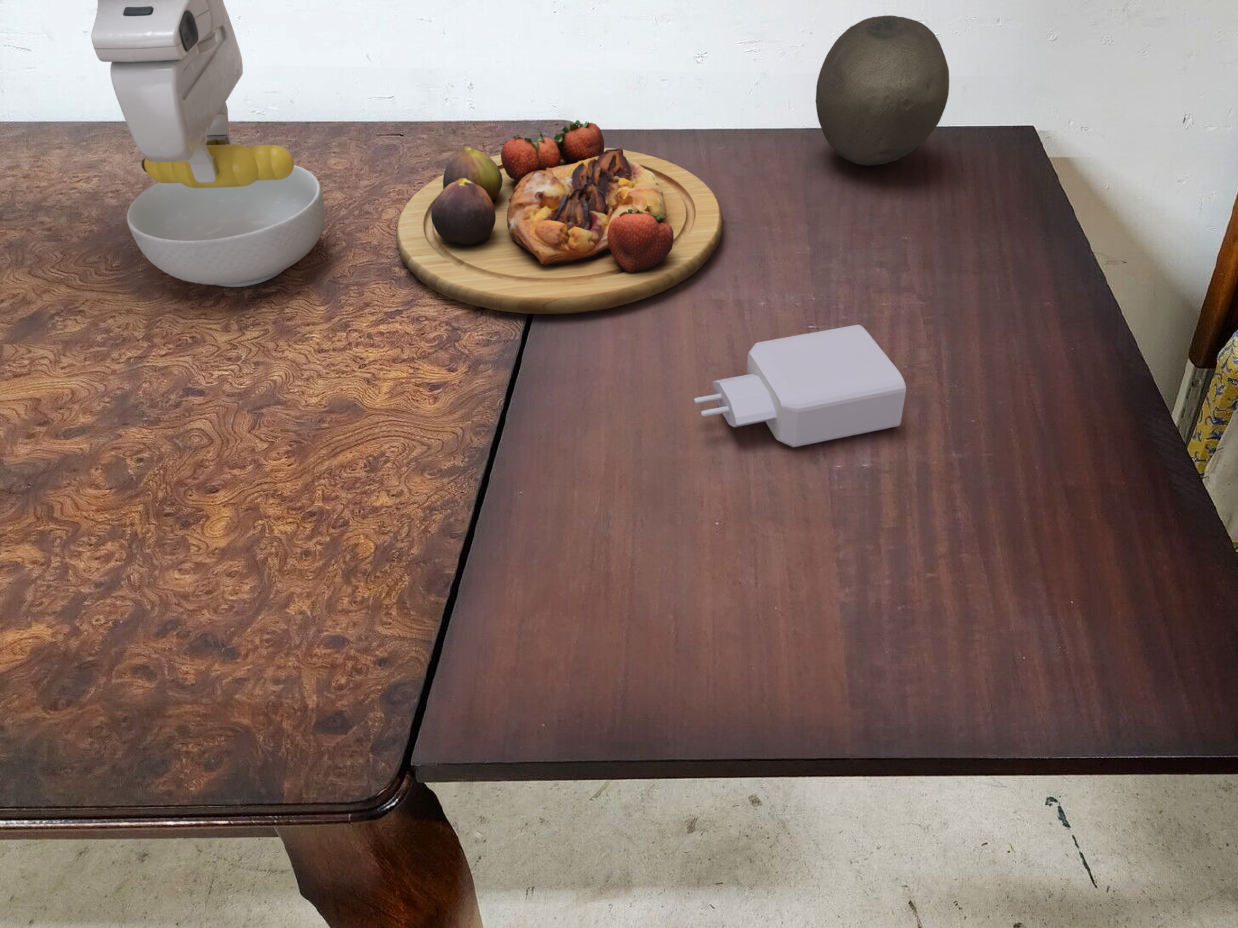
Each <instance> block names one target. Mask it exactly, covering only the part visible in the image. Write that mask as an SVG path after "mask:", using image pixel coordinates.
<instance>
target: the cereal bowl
mask: <svg viewBox="0 0 1238 928" xmlns="http://www.w3.org/2000/svg"><path fill="white" fill-rule="evenodd" d="M325 215H326V209H325V201H324V195H323V190H322V187H321V183H320V182H319V180H318V178H317V177H316V176H315V174H313V173H312V172H311V171H309V170H307V169H306V168H304V167H301V166H298V165H296V164H294V168H293V171H292V173H291V174H290V175H289V176H288V177H287V178H285V179H282V180H263V181H255V182H254V183H252V184H251V185H248V186H244V187H219V188H191V187H187V186H185V185H183V184H182V183H160V182H156V183H154V184H152V185H150V186H149V187H148V188H146V189H145V190H143V191H142V192H141V193H140V194H139V195H138V196H136V197H135V198H134V199H133V200H132V202H131V203H130V205H129V207H128V209H127V213H126V222H127V225H128V229H129V231H130V232H131V235H132V237H133V239H134V241H135V242H136V245H137V247H138V248H139V250H140V252H142V255H144V256H145V257H146V259H147V260H148V261H149V262H150V263H151V264H152V265H154V266H155V267H156V268H158V269H159V270H161V271H162V272H163V273H165V274H168V275H169V276H171V277H174V278H175V279H179V280H181V281H185V282H188V283H194V284H201V285H210V286H219V287H225V288H226V287H227V288H240V287H241V288H242V287H249V286H253V285H257V284H261V283H264V282H267V281H269V280H272V279H273V278H275V277H277V276H278V275H280V274H281V273H283V271H285V270H286V269H288V268H290V267H292V266H294V265H295V264H296V263H298V262H300V261H301V260H302V259H303V258H304V257H306V255H308V254H309V253H310V252H311V251H312V249H313V248H315V246H316V244H317V243H318V241H319V240H320V238H321V235H322V233H323V229H324V226H325V221H326V216H325Z"/></svg>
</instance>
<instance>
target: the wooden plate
mask: <svg viewBox="0 0 1238 928" xmlns="http://www.w3.org/2000/svg"><path fill="white" fill-rule="evenodd" d="M539 133H540V134H539V135H538V136H537V138H535V139H534V140H533V141H534V142H533V141H532V138H531V137H528V136H524V138H523V137H521V136H520V134H519V133H517V134H515V135H514V136H513V137H512V139H509V140H506V141H505V142H504V143H500V144H499V146H502V148H501V153H500V154H496V155H491V156H490V155H488V154H487V153H485V152H482V151H481V150H477V149H474V148H473V147H471V146H469V145H467V146H466V147H464V149H462V150H461V151H459V152H458V153H456V155H455V156H453V158H452V159H451V160H450V162H448V164H447V165H446V166H445V170H444V173H443V174H441V175H440V176H438V177H436V178H435V179H433V180H432V181H430V182H429V183H427V184H425V185H424V186H423V187H421V188H420V189H419V190H418V191H417V192H416V193H415V194H414V195H413V196H412V197H411V198H410V199H409V200H408V202H407V203H406V205H404V207H403V209H402V211H401V213H400V214H399V217H398V220H397V222H396V227H395V228H396V229H395V240H396V246H397V249H398V254H399V256H400V258H401V260H402V262H403V263H404V265H405V266H406V268H407V269H408V270H409V271H410V272H411V273H412V274H413V275H414V276H415V277H416V278H417V280H419V281H420V282H422V283H424V284H425V285H426V286H427V287H429V288H430V289H432V290H434V291H435V292H438V293H439V294H441V295H443V296H445V297H448V298H449V299H452V300H456V301H458V302H461V303H465V304H468V305H472V306H476V307H480V308H483V309H484V308H485V309H489V310H495V311H499V312H506V313H507V312H509V313H518V314H529V315H532V314H533V315H562V314H576V313H578V314H579V313H585V312H593V311H601V310H606V309H612V308H616V307H620V306H623V305H628V304H631V303H635V302H638V301H641V300H644V299H647V298H651V297H653V296H654V295H657V294H660V293H662V292H664V291H666V290H669V289H671V288H673V287H674V286H676V285H678V284H679V283H682V282H683V281H685V280H687V279H688V278H689V277H691V276H692V275H693V274H695V273H696V272H697V271H698V270H699V269H700V268H702V267H703V265H704V264H705V263H706V262H707V261H708V260H709V259H710V258H711V257H712V256H713V254H714V252H715V250H717V247H718V246H719V244H720V241H721V239H722V235H723V228H724V218H723V210H722V207H721V204H720V202H719V200H718V198H717V196H716V195H715V194H714V192H713V191H712V190H711V188H710V187H709V186H708V185H707V184H705V182H704V181H703V180H702V179H700V178H698V177H697V176H696V175H694V174H692V172H689V171H688V170H687V169H685V168H683V167H681V166H679V165H677V164H675V163H672V162H671V161H668V160H665V159H662V158H659V157H655V156H652V155H648V154H645V153H641V152H637V151H631V150H626V149H623V148H614V147H605V139H604V135H603V132H602V130H601V128H600V127H599V126H598V125H597V124H596V123H594V122H589V121H587V120H586V121H585V122H584V123H581V121H580V120H579V119H577V120H575V122H574V123H569V127H568V126H567V125H565V126H563V127H562V129H561V133H556V134H555V136H554V137H553V139H552V138H551V137H544V136H543V133H542V132H541V131H539Z"/></svg>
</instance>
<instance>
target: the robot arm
mask: <svg viewBox="0 0 1238 928" xmlns="http://www.w3.org/2000/svg"><path fill="white" fill-rule="evenodd" d="M90 37H91V43H92V46H93V50H94V52H95V54H96V56H97V59H98V60H99V62H101V63H102V62H104V63H107V62H108V63H110V69H109V70H110V71H109V72H110V80H111V84H112V87H113V91H114V93H115V96H116V99H117V102H118V104H119V107H120V109H121V112H122V115H123V118H124V120H125V123H126V125H127V128H128V130H129V133H130V134H131V137H132V139H133V142H134V144H135V146H136V147H137V149H138V151H139V152H140V153H141V154H142V156H143V157H144V158H146V159H148V160H149V161H151V162H177V161H187V162H188V163H189V164H190V166H191V169H192V172H193V175H194V178H195V180H196V181H197V182H200V183H211V182H214V181H215V180H216V177H217V176H218V174H219V168H218V166H217V161H216V158H215V156H211V155H210V153H209V151H208V149H207V147H206V145H230V144H233V143H232V140H231V136H230V133H229V132H230V129H229V128H230V126H229V110H228V109H229V108H228V105H227V100H228V99H229V97H230V96H231V94H232V92H233V90H234V89H235V88H236V85H237V84H238V82H239V81H240V79H241V78H242V76H243V75H244V64H243V58H242V54H241V50H240V47H239V44H238V40H237V37H236V34H235V31H234V28H233V25H232V22H231V19H230V15H229V12H228V11H227V8H226V5H225V3H224V0H97V9H96V16H95V19H94V24H93V26H92V30H91V35H90Z"/></svg>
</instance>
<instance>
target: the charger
mask: <svg viewBox="0 0 1238 928" xmlns="http://www.w3.org/2000/svg"><path fill="white" fill-rule="evenodd" d="M746 360H747V362H746V374H744V375H739V376H733V377H728V378H722V379H717V380H713V381H712V389H713V393H714V394H709V395H704V396H697V397H694V399H693V403H694V404H695V405H698V404H705V403H708V402H709V403H710V402H713V401H716V402H717V405H718V407H714V408H709V409H704V410H701V411H700V416H701V417H704V418H705V417H710V416H715V415H720V414H722V415H723V417H724V419H725V420H726V422H727V424H728V426H729V425H730V426H731V427H733V428H738V427H743V426H748V425H753V424H759V423H763V422H765V423H766V425H767V427H768V428H769V430H770V432H771V433H772V435H773V436H774V438H775V439H776V441H778V442H781V443H783V444H785V445H786V446H787V445H788V446H789V447H791V448H797V447H801V446H806V445H812V444H817V443H821V442H826V441H832V440H836V439H842V438H846V437H852V436H856V435H861V434H862V435H863V434H866V433H867V434H868V433H871V432H876V431H881V430H886V429H890V428H895V427H896V428H897V427H900V425H901V424H902V418H903V412H904V411H903V410H904V406H905V399H906V394H907V386H906V382H905V380H904V377H903V376H902V373H901V372H900V371H899V370H898V368H897V367H896V366H895V364H894V363H893V362H892V361H891V360H890V358H889V357H888V356H887V354H886V353H885V352H884V351H883V350H882V349H881V347H880V345H878V344H877V342H876V341H875V339H874V338H873V337H872V335H870V333H869V332H868V330H866V328H864V326H862V325H861V324H854V325H848V326H842V327H838V328H837V327H836V328H831V329H824V330H820V331H815V332H809V333H808V332H807V333H802V334H798V335H792V336H786V337H780V338H775V339H770V340H764V341H757V342H755V343H754V344H753V346H752V347H751V348H750V350H749V351H748V352H747V359H746Z"/></svg>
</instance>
